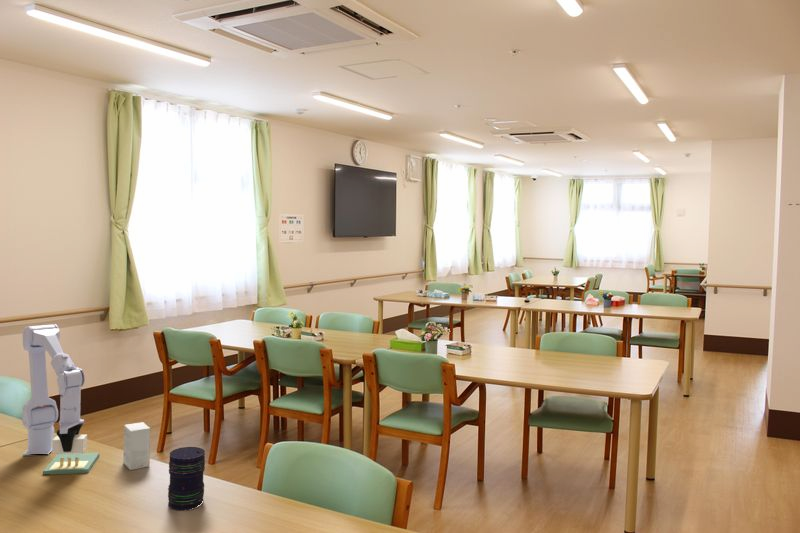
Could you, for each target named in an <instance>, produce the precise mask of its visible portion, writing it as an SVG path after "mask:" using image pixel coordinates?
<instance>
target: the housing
mask: <svg viewBox="0 0 800 533" xmlns="http://www.w3.org/2000/svg"><path fill="white" fill-rule="evenodd" d="M87 448H88V434H78V435H75V436H74V440H73V445H72V450H71V452H63V448H62V444H61V441H60V439H59V437H58V435H57V434H56V436H54V439H53V440H52V451H51V454H52V455H57V454H72V453H85V451H86V450H87Z"/></svg>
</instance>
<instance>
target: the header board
mask: <svg viewBox="0 0 800 533" xmlns="http://www.w3.org/2000/svg"><path fill="white" fill-rule="evenodd" d="M99 457H100V452H83V453H65V454H55V457H54V458H53V459H52V460H51V461H50V462H49V463H48V464H47V465H46V467H45V468H44V469H43V470H42V475H43V474H50V475H70V474H72V475H73V474H87V473H88V474H89V472H90V470H91V469H92V467H94V464H95V463H96V461H97V460H98V459H99ZM97 458H98V459H97Z"/></svg>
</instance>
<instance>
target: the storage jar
mask: <svg viewBox="0 0 800 533" xmlns="http://www.w3.org/2000/svg"><path fill="white" fill-rule="evenodd" d="M205 454H206V450H205V449H204V448H201V447H198V446H185V447H178V448H176V449H173V450H172V451H170V452H169V462H168V468H169V469H168V473H169V484H168V487H167V497H168V500H167V502H168V504H167V505H168V507H169V508H170V510H174V511H179V512H182V511H183V512H184V511H185V510H186V511H190V510H189V509H192V508H195V507H197V506H198V505H200V504H201V503H202V501H203V502H204V494H205V483H204V472H205V468H206V467H205V465H206V459H205V458H206V457H205V456H206V455H205ZM195 509H196V508H195ZM192 510H193V509H192Z"/></svg>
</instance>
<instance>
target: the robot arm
mask: <svg viewBox="0 0 800 533" xmlns="http://www.w3.org/2000/svg"><path fill="white" fill-rule="evenodd" d="M60 336H61V331H60V327H59V326H58V324H56V323H52V324H43V325H41V324H39V325H32V326H30V325H26V326H25V327H24V329H23V331H22V344H23V345H22V346H23V350H25V351H28V360H29V377H30V392H31V393H30V395H31V398H30V399H29V400H28V401H27V402H26V403H24V404H23V405H22V414H21V421H22V425H23V426H24V427H25V428H27V449H26V451H25V452H23V454H22V456H30V455H29V454H48V455H49V453H50V452H51V453H52V440H53V439H54V438H55V427H54V426H55V423H56V422H57V421H58V418H59V421H58V423H59V429H57V430H56V436H57V435H58V437H59V439H60V441H61V444H62V448H63V452H71V450H72V445H73V440H74V436H75V435H80V432H81V431H80V430H81V429H82V427H83V424H84V422H85V419H84V418H83V419H82V418H81V402H82V401H81V400H82V399H81V396H82V395H81V391H82V388H81V387H83V386H84V384H85V378H86V377H85V374H84V371H83V369H82V368H79V366H76V365H75V364H74V361H73V360H72V357H71V356H70V355H69V354H68V353H66V352H65V353H64V351H63V348H62V346H61V343H60ZM46 352H47V353H48V355H49V356H50V357H51V361H50V365H51V367H52V369H53V370H54V372H55V374H56V376H57V378H56V381H57V382H56V383H57V387H58V393H59V395H60V399H59V400H60V403H59V404H60V406H59V407H60V408H59V410H58V406H57V402H56V400H55V399H53V398H50V397H49V392H48V391H49V390H48V375H47V360H46ZM25 453H26V454H25Z"/></svg>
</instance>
